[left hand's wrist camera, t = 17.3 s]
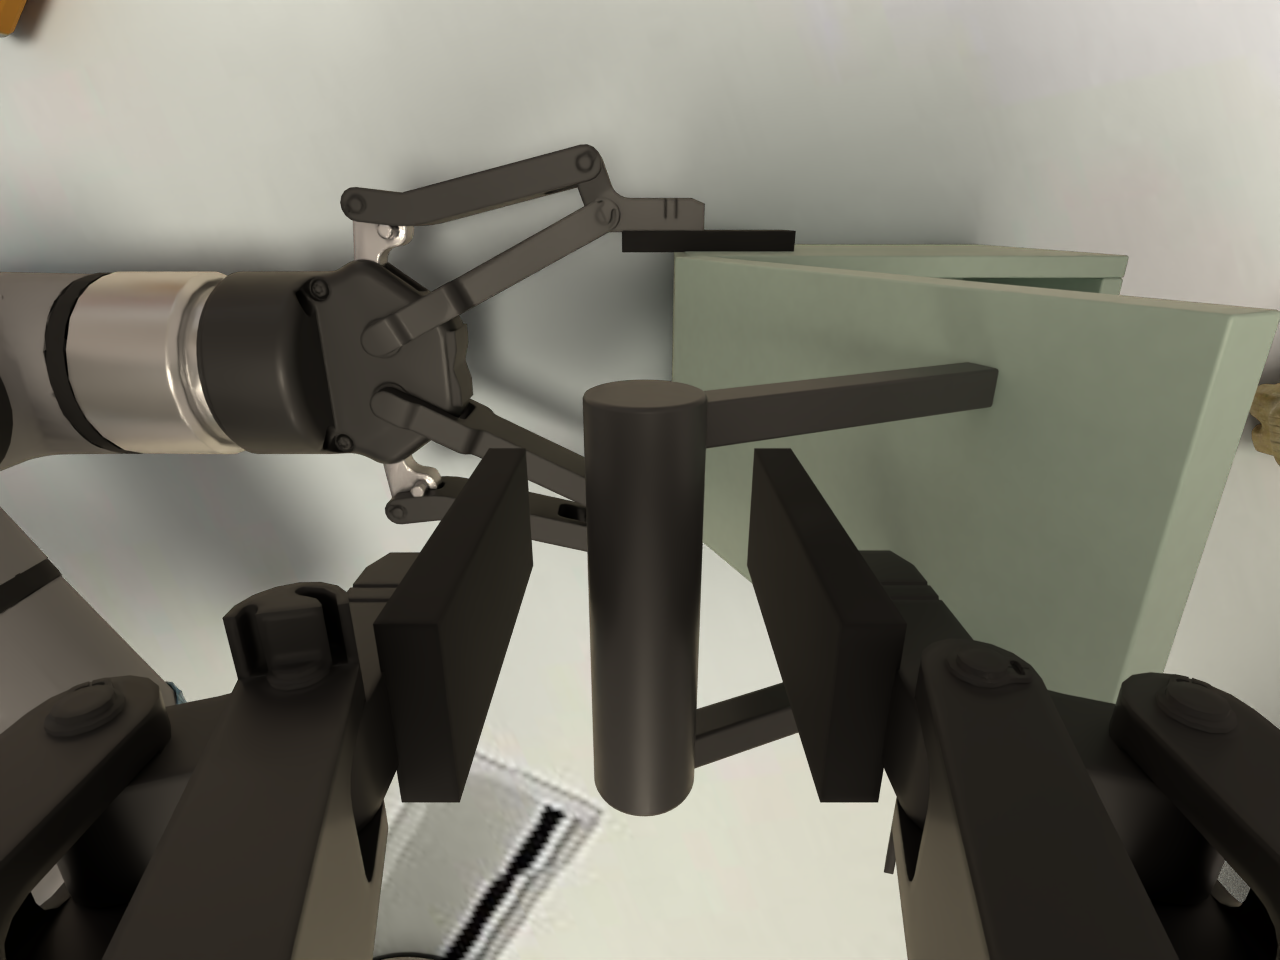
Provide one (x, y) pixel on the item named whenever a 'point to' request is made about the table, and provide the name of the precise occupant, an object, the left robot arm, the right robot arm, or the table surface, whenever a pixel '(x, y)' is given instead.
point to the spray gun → (10, 15)
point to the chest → (951, 264)
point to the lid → (906, 478)
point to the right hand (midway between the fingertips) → (778, 364)
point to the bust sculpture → (407, 958)
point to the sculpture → (1267, 420)
